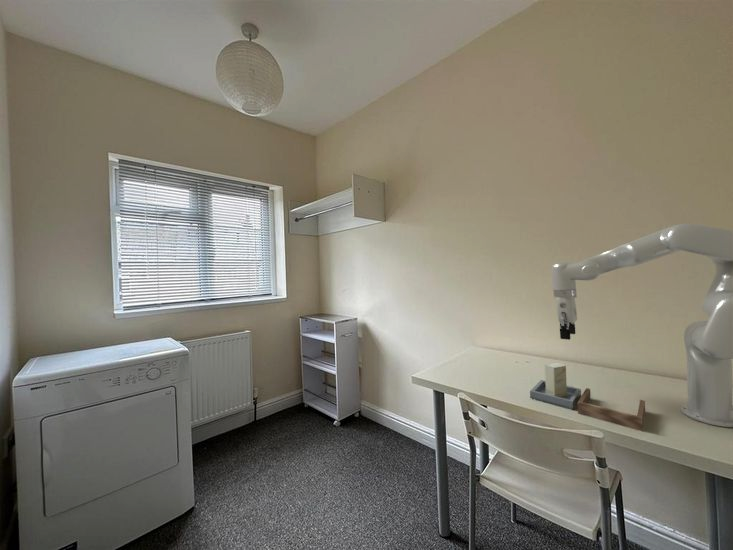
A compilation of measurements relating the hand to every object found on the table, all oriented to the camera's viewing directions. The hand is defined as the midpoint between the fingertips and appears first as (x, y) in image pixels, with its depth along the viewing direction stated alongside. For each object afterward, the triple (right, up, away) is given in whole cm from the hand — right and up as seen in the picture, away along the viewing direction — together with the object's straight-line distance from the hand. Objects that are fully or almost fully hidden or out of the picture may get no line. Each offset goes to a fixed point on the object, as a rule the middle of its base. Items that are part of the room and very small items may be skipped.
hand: (568, 336), depth 115 cm
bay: (+5, -24, -14) cm, 28 cm away
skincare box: (-5, -23, -1) cm, 24 cm away
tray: (-6, -24, -1) cm, 25 cm away
